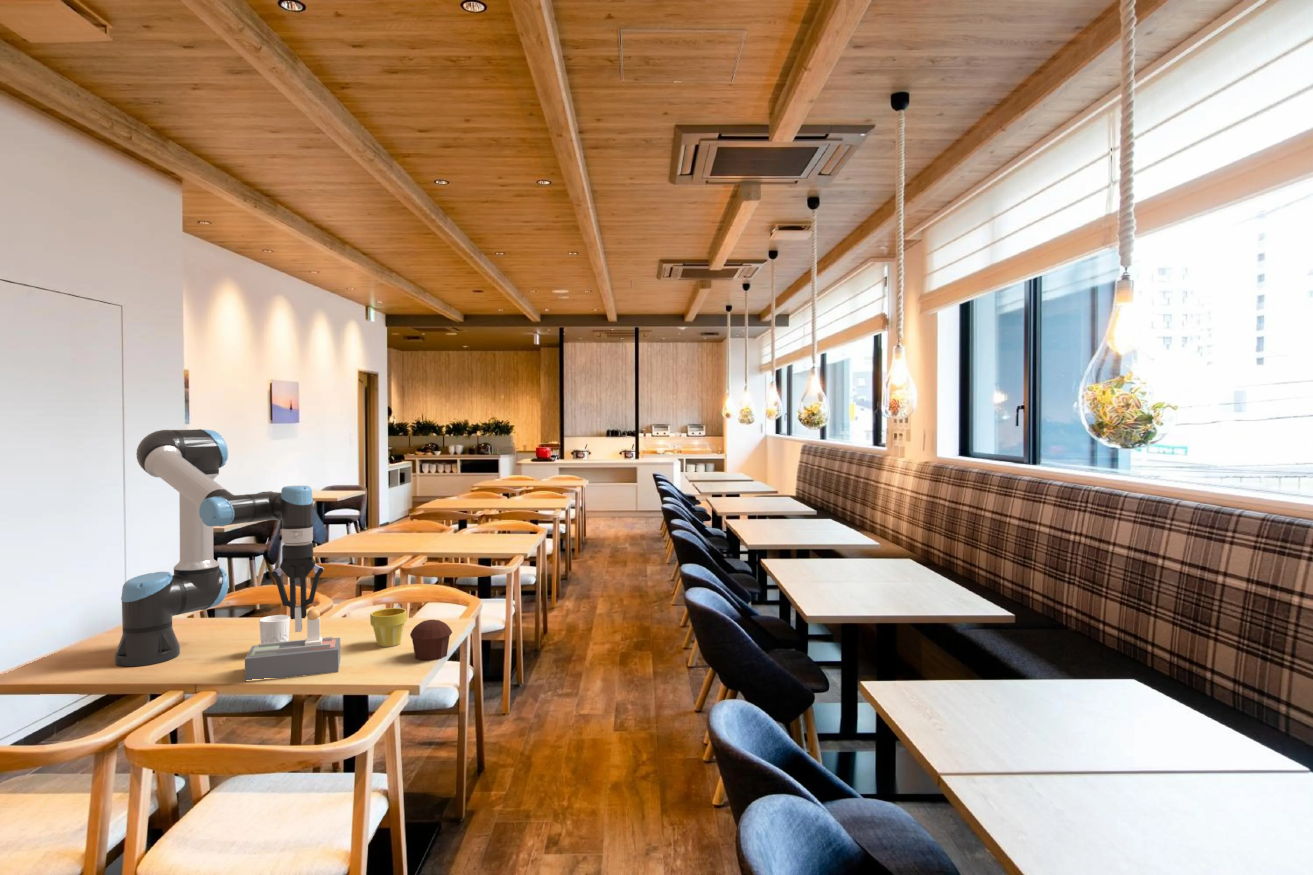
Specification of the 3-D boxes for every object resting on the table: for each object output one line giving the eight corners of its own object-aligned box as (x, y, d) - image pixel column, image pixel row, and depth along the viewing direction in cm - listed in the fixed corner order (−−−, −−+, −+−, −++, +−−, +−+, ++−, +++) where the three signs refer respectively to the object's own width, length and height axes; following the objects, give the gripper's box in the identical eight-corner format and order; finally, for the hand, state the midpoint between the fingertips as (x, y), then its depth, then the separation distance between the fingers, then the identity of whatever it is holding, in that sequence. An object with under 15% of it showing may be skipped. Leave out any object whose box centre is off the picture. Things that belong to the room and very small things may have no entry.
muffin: (401, 659, 207) (401, 624, 207) (426, 648, 218) (426, 614, 217) (436, 664, 203) (436, 628, 203) (460, 652, 213) (460, 618, 213)
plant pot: (364, 644, 222) (363, 611, 221) (396, 636, 229) (396, 605, 229) (380, 651, 215) (380, 618, 214) (413, 643, 222) (413, 611, 222)
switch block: (252, 667, 200) (252, 642, 200) (340, 658, 208) (340, 633, 208) (244, 682, 189) (244, 655, 189) (338, 671, 197) (337, 645, 197)
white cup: (295, 648, 217) (295, 615, 217) (279, 657, 209) (279, 622, 209) (270, 648, 218) (270, 614, 218) (253, 656, 210) (253, 621, 210)
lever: (306, 642, 202) (306, 607, 201) (322, 640, 203) (322, 606, 203) (304, 647, 197) (304, 611, 197) (321, 645, 198) (320, 610, 198)
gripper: (268, 546, 192) (269, 636, 193) (323, 543, 197) (324, 631, 197) (272, 542, 199) (273, 629, 200) (325, 539, 204) (326, 624, 204)
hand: (298, 630), depth 198 cm, fingers closed
